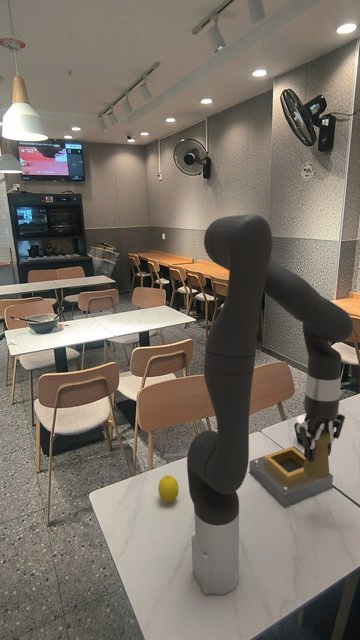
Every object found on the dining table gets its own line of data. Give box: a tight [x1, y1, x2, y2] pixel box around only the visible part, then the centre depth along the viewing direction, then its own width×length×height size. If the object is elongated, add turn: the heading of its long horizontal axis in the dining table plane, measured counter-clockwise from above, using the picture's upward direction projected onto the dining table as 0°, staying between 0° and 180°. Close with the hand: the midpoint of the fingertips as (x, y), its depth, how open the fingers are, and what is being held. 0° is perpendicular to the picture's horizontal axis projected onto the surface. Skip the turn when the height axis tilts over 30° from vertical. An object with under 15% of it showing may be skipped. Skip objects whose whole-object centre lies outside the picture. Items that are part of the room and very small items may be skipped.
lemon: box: [157, 474, 179, 503], centre depth 100 cm, size 6×6×8 cm
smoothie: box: [295, 415, 306, 450], centre depth 122 cm, size 6×6×14 cm
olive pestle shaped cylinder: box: [304, 431, 330, 479], centre depth 89 cm, size 6×6×11 cm
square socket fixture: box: [248, 445, 334, 509], centre depth 107 cm, size 19×16×6 cm
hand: (317, 456), depth 89 cm, fingers closed on olive pestle shaped cylinder, 4 cm apart
